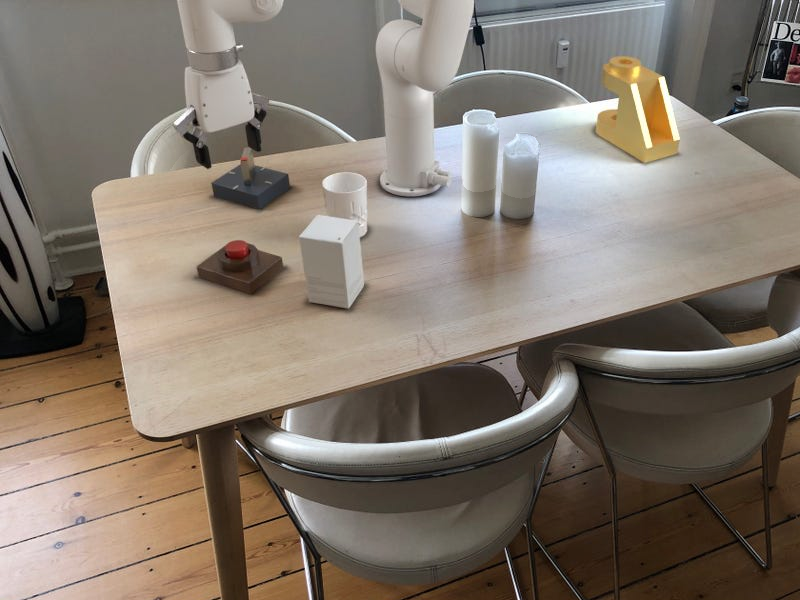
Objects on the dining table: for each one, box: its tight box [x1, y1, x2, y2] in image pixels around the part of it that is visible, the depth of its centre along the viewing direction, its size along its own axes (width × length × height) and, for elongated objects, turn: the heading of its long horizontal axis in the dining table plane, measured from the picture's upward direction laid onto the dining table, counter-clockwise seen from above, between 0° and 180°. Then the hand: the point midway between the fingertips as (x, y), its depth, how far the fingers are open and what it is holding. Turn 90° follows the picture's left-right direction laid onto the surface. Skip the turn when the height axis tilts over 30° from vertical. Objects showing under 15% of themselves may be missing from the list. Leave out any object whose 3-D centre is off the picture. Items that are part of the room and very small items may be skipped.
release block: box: [196, 242, 284, 295], centre depth 142 cm, size 11×9×4 cm
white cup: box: [321, 171, 368, 238], centre depth 151 cm, size 8×8×10 cm
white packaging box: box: [298, 214, 365, 310], centre depth 134 cm, size 7×7×13 cm
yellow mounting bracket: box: [595, 55, 681, 164], centre depth 181 cm, size 20×9×16 cm, turn 31°
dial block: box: [210, 164, 291, 210], centre depth 164 cm, size 11×10×3 cm
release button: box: [224, 239, 249, 259], centre depth 140 cm, size 4×4×2 cm
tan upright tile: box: [239, 147, 256, 185], centre depth 161 cm, size 6×1×5 cm, turn 4°
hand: (230, 157), depth 142 cm, fingers open, 9 cm apart
